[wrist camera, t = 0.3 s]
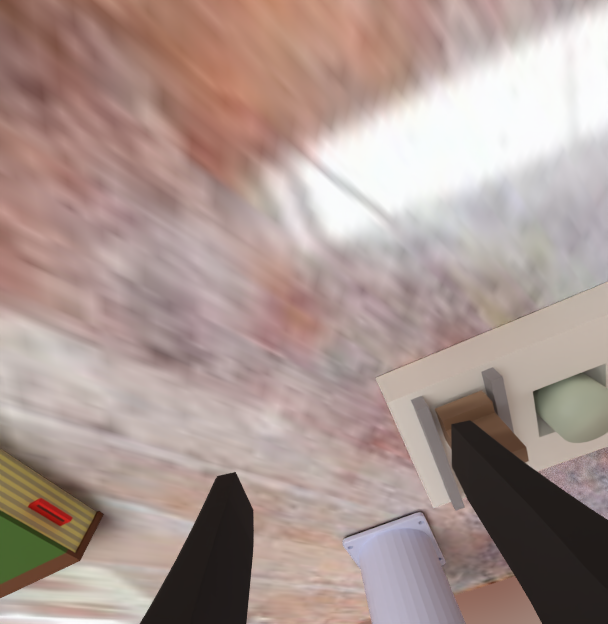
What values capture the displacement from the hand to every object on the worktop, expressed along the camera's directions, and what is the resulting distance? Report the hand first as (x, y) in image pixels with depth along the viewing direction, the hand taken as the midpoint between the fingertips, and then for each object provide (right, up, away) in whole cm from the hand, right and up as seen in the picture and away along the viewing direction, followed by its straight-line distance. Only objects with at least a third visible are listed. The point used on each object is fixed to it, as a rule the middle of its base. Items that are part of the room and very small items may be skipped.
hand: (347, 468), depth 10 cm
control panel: (+16, 0, +12) cm, 20 cm away
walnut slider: (+9, -1, +9) cm, 13 cm away
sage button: (+16, 0, +11) cm, 19 cm away
